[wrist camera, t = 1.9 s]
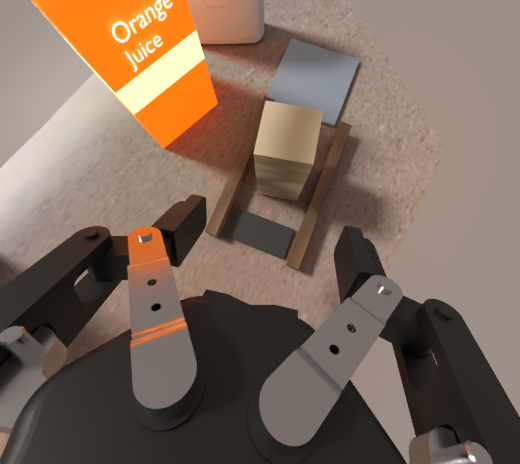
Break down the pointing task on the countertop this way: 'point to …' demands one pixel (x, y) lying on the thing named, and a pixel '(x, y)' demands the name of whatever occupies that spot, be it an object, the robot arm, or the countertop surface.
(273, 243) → the mat
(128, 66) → the orange juice
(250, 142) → the channel
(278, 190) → the beech block
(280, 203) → the countertop surface
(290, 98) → the mat
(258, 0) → the photo printer
